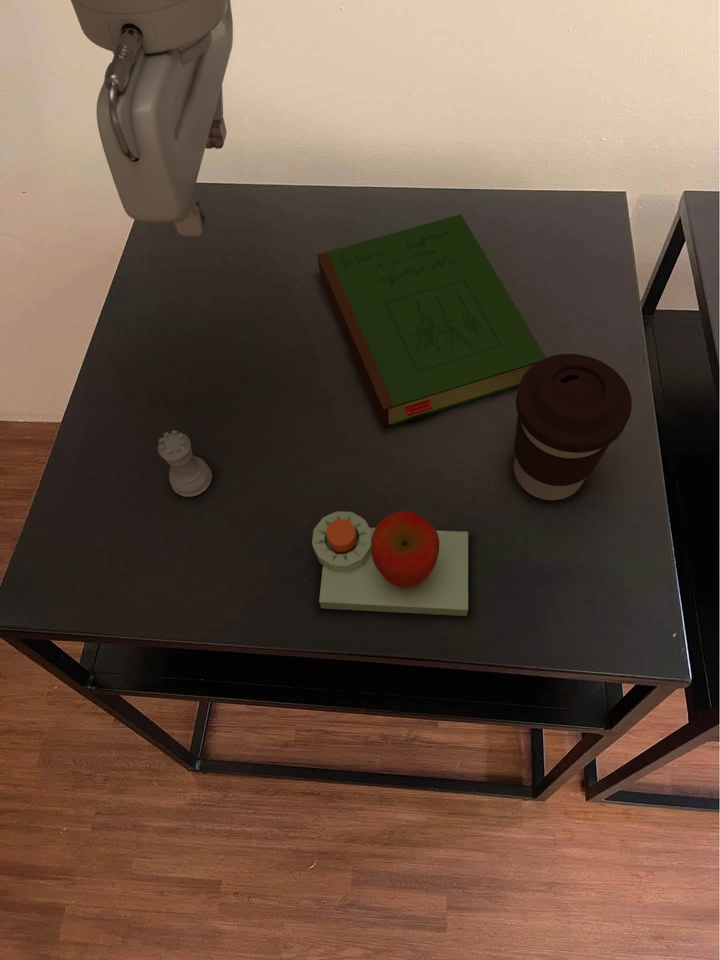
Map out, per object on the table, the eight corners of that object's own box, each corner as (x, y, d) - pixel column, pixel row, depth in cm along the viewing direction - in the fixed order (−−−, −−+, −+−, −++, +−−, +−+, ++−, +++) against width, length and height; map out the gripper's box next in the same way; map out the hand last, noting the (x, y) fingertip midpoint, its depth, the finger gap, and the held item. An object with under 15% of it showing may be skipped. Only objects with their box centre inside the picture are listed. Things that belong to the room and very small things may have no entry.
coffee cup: (590, 523, 72) (631, 445, 59) (492, 502, 74) (511, 421, 61) (601, 442, 77) (642, 352, 64) (509, 423, 78) (530, 333, 65)
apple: (364, 549, 70) (360, 516, 63) (423, 530, 71) (425, 495, 64) (385, 608, 67) (382, 579, 60) (446, 588, 68) (451, 557, 61)
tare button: (326, 552, 69) (324, 544, 67) (329, 525, 70) (327, 518, 69) (355, 553, 69) (354, 546, 67) (357, 527, 70) (356, 519, 68)
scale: (310, 608, 69) (305, 595, 66) (319, 525, 74) (315, 510, 71) (466, 616, 68) (469, 604, 65) (466, 531, 72) (469, 516, 69)
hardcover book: (320, 277, 90) (317, 254, 87) (459, 237, 92) (460, 214, 89) (386, 434, 79) (386, 414, 75) (543, 384, 81) (549, 363, 77)
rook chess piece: (219, 468, 78) (201, 428, 71) (202, 503, 76) (181, 465, 69) (182, 458, 78) (161, 417, 71) (164, 492, 77) (140, 454, 70)
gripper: (163, 92, 36) (223, 289, 48) (227, -106, 46) (264, 99, 58) (42, 93, 37) (132, 287, 49) (131, -103, 46) (188, 100, 58)
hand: (204, 184), depth 53 cm, fingers open, 8 cm apart
